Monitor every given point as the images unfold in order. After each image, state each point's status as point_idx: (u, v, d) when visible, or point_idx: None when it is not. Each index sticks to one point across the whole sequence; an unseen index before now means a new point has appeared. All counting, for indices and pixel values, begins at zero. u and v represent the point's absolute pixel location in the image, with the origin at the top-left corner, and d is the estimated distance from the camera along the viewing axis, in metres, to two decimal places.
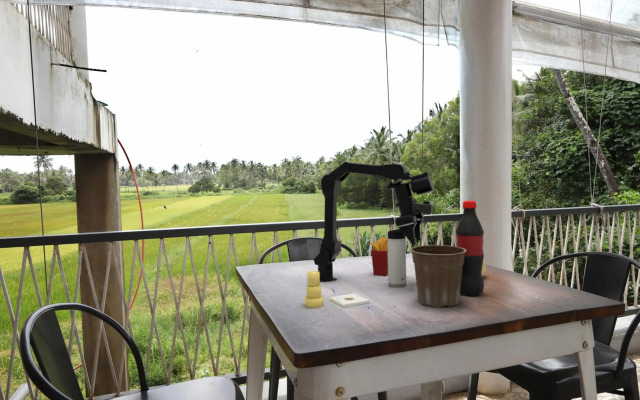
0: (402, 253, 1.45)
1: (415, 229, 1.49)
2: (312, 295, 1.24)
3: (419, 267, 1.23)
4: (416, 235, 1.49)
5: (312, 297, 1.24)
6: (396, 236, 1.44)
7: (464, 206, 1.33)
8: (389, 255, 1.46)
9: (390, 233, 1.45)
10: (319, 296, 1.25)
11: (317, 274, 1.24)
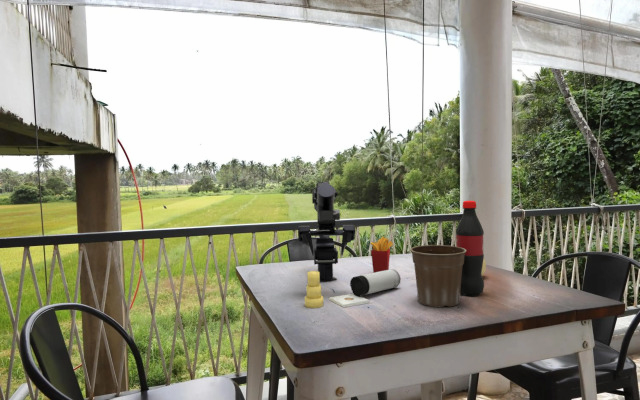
0: (378, 289, 1.35)
1: None
2: (312, 295, 1.24)
3: (419, 267, 1.23)
4: None
5: (312, 297, 1.24)
6: None
7: (464, 206, 1.33)
8: None
9: None
10: (319, 296, 1.25)
11: (317, 274, 1.24)
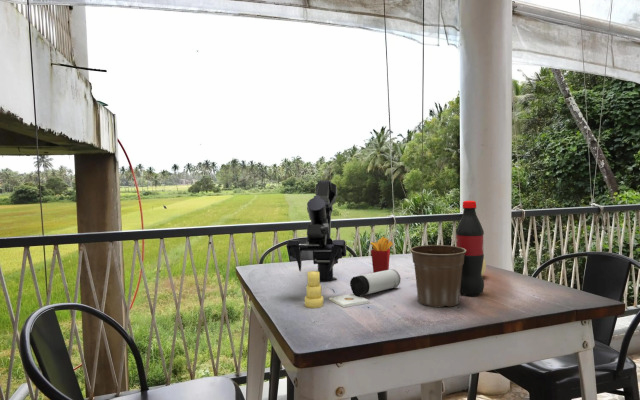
0: (378, 289, 1.35)
1: None
2: (312, 295, 1.24)
3: (419, 267, 1.23)
4: None
5: (312, 297, 1.24)
6: None
7: (464, 206, 1.33)
8: None
9: None
10: (319, 296, 1.25)
11: (317, 274, 1.24)
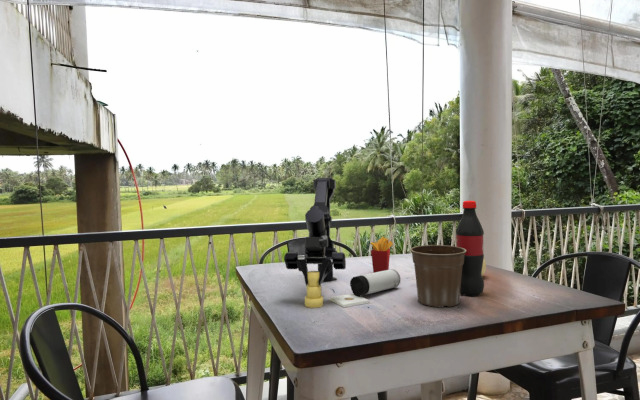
0: (378, 289, 1.35)
1: None
2: (312, 295, 1.24)
3: (419, 267, 1.23)
4: None
5: (312, 297, 1.24)
6: None
7: (464, 206, 1.33)
8: None
9: None
10: (319, 296, 1.25)
11: (317, 274, 1.24)
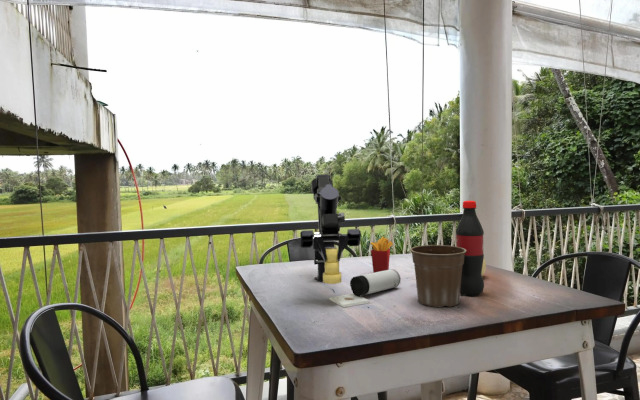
0: (378, 289, 1.35)
1: None
2: (332, 271, 1.25)
3: (419, 267, 1.23)
4: None
5: (332, 273, 1.25)
6: None
7: (464, 206, 1.33)
8: None
9: None
10: (338, 272, 1.26)
11: (336, 250, 1.26)
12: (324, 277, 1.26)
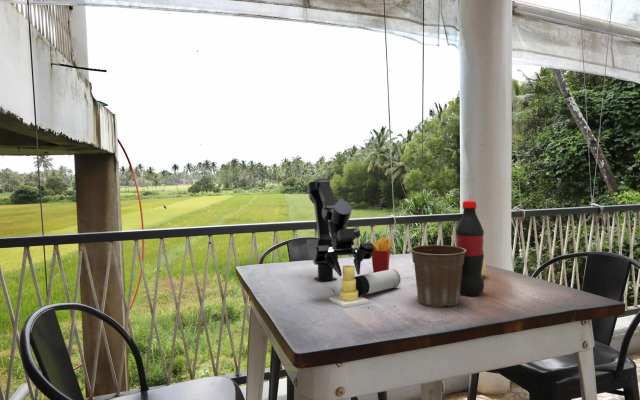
0: (378, 289, 1.35)
1: (356, 263, 1.31)
2: (350, 289, 1.27)
3: (419, 267, 1.23)
4: (356, 269, 1.30)
5: (350, 291, 1.27)
6: None
7: (464, 206, 1.33)
8: None
9: None
10: (355, 289, 1.28)
11: (353, 268, 1.28)
12: (342, 295, 1.27)
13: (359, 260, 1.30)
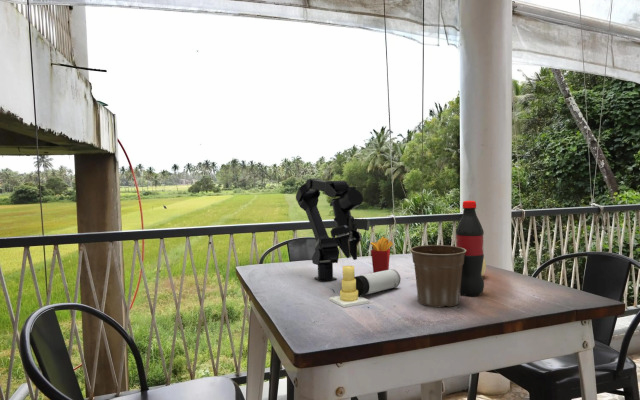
0: (378, 289, 1.35)
1: (352, 248, 1.47)
2: (350, 289, 1.27)
3: (419, 267, 1.23)
4: (353, 254, 1.46)
5: (350, 291, 1.27)
6: None
7: (464, 206, 1.33)
8: None
9: None
10: (355, 289, 1.28)
11: (353, 268, 1.28)
12: (342, 295, 1.27)
13: None
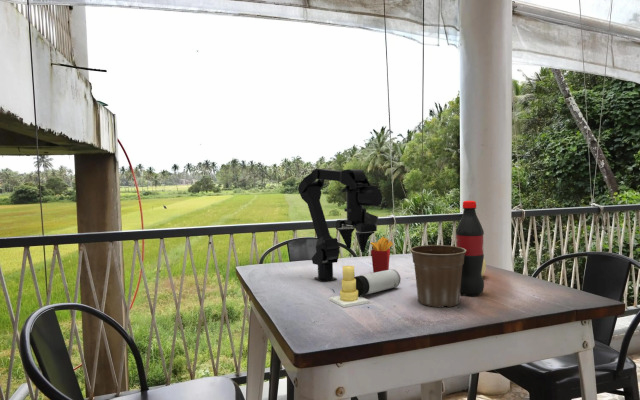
0: (378, 289, 1.35)
1: (347, 237, 1.50)
2: (350, 289, 1.27)
3: (419, 267, 1.23)
4: (348, 243, 1.50)
5: (350, 291, 1.27)
6: None
7: (464, 206, 1.33)
8: None
9: None
10: (355, 289, 1.28)
11: (353, 268, 1.28)
12: (342, 295, 1.27)
13: None
